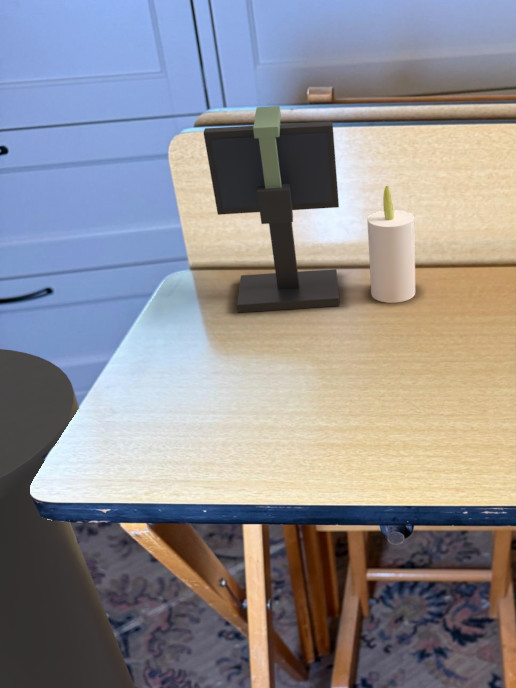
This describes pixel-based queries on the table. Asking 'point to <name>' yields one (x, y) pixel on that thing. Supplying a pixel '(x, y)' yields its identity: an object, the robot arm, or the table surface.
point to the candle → (391, 253)
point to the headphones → (271, 169)
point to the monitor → (306, 193)
